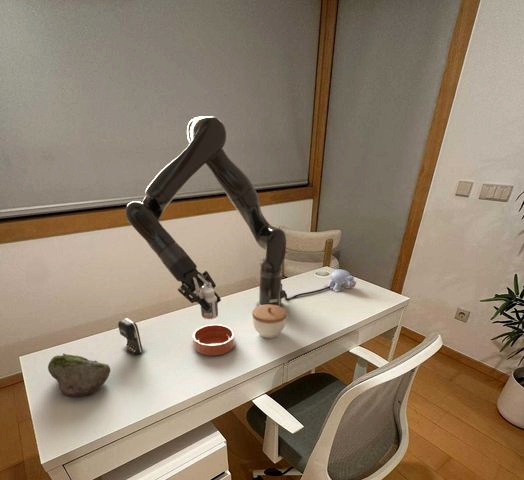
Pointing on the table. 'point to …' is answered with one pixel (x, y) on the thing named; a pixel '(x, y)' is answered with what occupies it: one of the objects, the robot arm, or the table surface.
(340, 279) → the hippopotamus toy
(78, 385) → the stone
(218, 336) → the terracotta bowl
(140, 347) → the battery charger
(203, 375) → the table surface
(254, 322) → the lidded bowl
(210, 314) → the pill bottle
